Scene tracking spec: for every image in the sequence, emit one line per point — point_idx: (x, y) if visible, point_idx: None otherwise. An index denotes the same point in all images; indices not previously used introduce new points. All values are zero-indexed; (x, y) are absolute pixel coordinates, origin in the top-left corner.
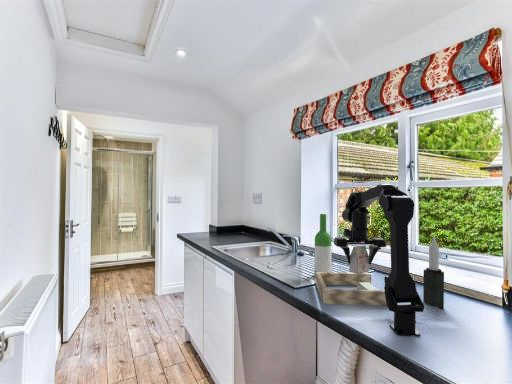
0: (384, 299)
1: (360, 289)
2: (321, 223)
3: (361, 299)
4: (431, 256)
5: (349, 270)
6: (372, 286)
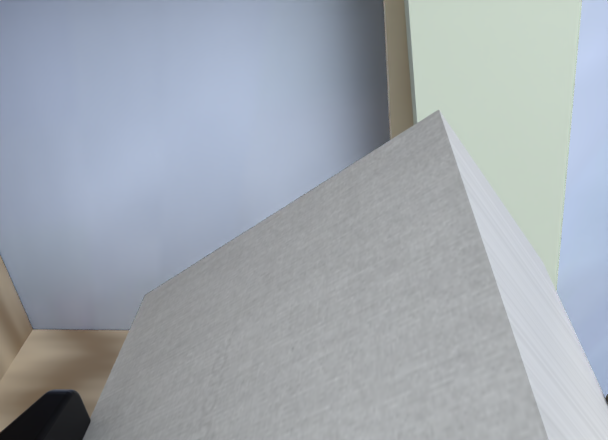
0: None
1: (388, 8)
2: None
3: None
4: None
5: (136, 314)
6: (543, 109)
